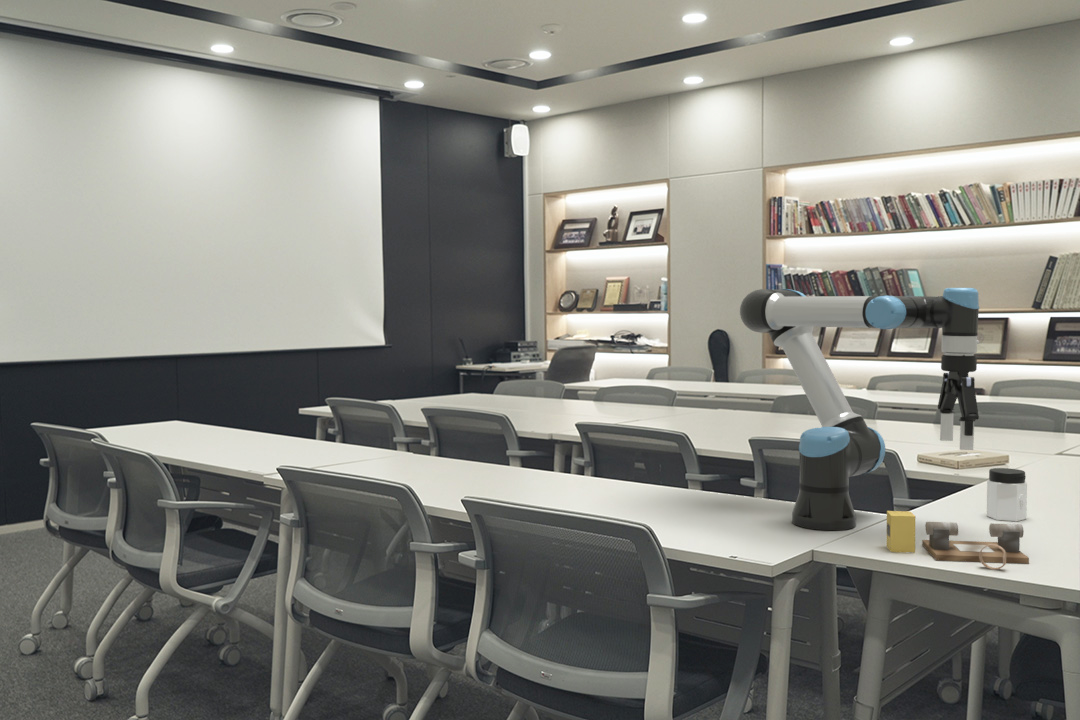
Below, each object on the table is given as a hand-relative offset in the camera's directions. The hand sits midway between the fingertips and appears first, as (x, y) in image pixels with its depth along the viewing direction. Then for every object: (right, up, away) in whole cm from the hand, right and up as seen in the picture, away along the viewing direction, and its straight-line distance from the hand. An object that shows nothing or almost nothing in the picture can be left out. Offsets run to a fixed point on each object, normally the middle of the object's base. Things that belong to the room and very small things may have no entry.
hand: (956, 445), depth 215 cm
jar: (+21, -20, +17) cm, 34 cm away
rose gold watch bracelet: (-5, -23, -28) cm, 37 cm away
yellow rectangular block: (-18, -22, -12) cm, 31 cm away
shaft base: (-4, -22, -17) cm, 28 cm away
